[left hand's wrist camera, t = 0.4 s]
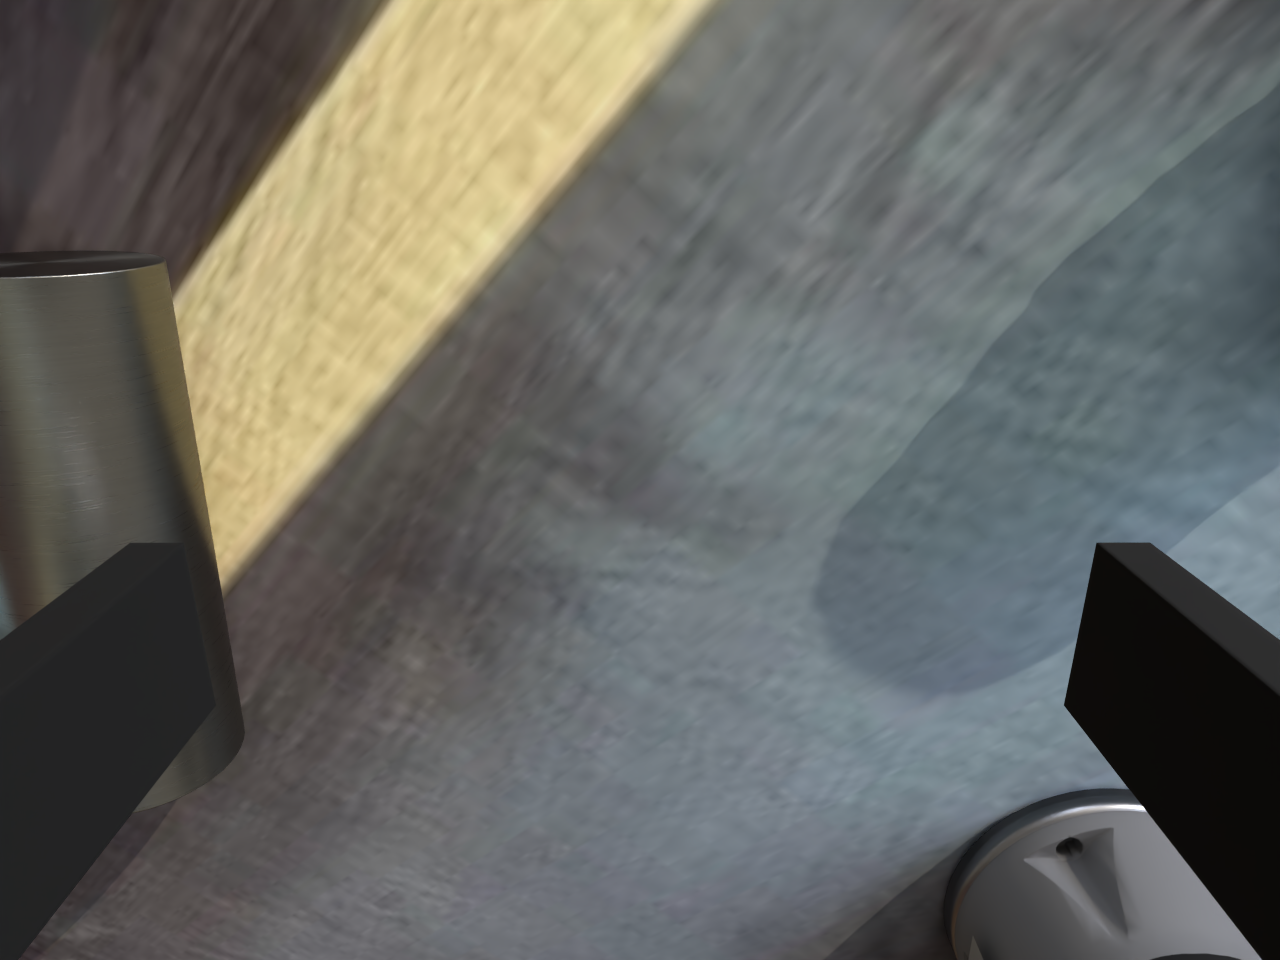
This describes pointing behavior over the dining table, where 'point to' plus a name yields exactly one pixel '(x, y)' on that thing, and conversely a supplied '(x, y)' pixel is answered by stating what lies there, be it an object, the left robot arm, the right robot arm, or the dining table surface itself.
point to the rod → (104, 457)
